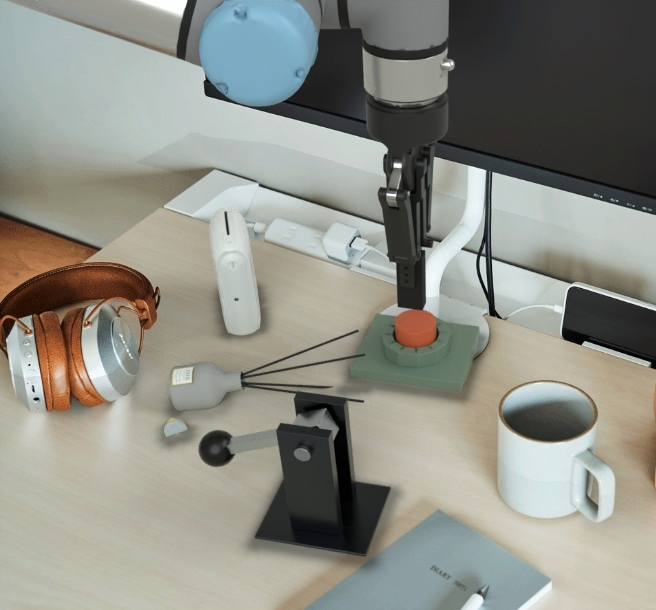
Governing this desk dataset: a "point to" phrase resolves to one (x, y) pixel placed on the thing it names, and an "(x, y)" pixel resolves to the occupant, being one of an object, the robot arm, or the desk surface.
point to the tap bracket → (322, 486)
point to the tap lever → (255, 438)
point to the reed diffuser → (224, 384)
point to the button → (415, 328)
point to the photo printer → (234, 271)
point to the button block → (417, 356)
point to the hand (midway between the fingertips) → (411, 304)
